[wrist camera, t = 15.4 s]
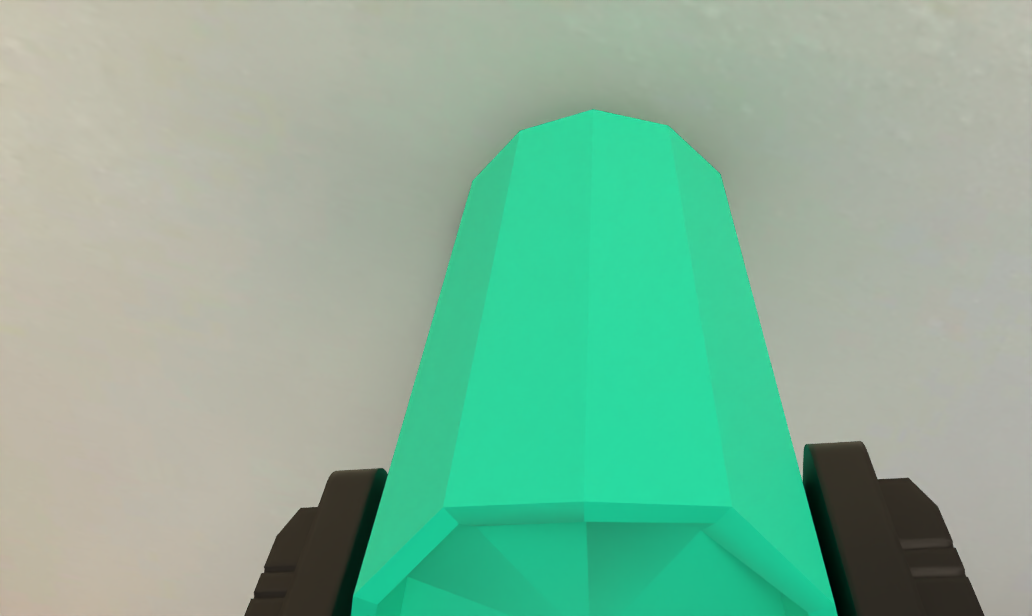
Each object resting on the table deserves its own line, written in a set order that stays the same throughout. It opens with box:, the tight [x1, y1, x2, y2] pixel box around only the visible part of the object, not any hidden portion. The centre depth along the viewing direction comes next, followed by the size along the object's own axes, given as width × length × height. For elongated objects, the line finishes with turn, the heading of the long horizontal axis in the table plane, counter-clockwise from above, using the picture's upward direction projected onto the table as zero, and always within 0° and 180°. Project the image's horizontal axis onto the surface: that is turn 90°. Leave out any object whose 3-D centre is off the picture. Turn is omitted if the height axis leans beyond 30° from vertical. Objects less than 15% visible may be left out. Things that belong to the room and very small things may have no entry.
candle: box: [351, 109, 838, 616], centre depth 14 cm, size 6×6×12 cm
